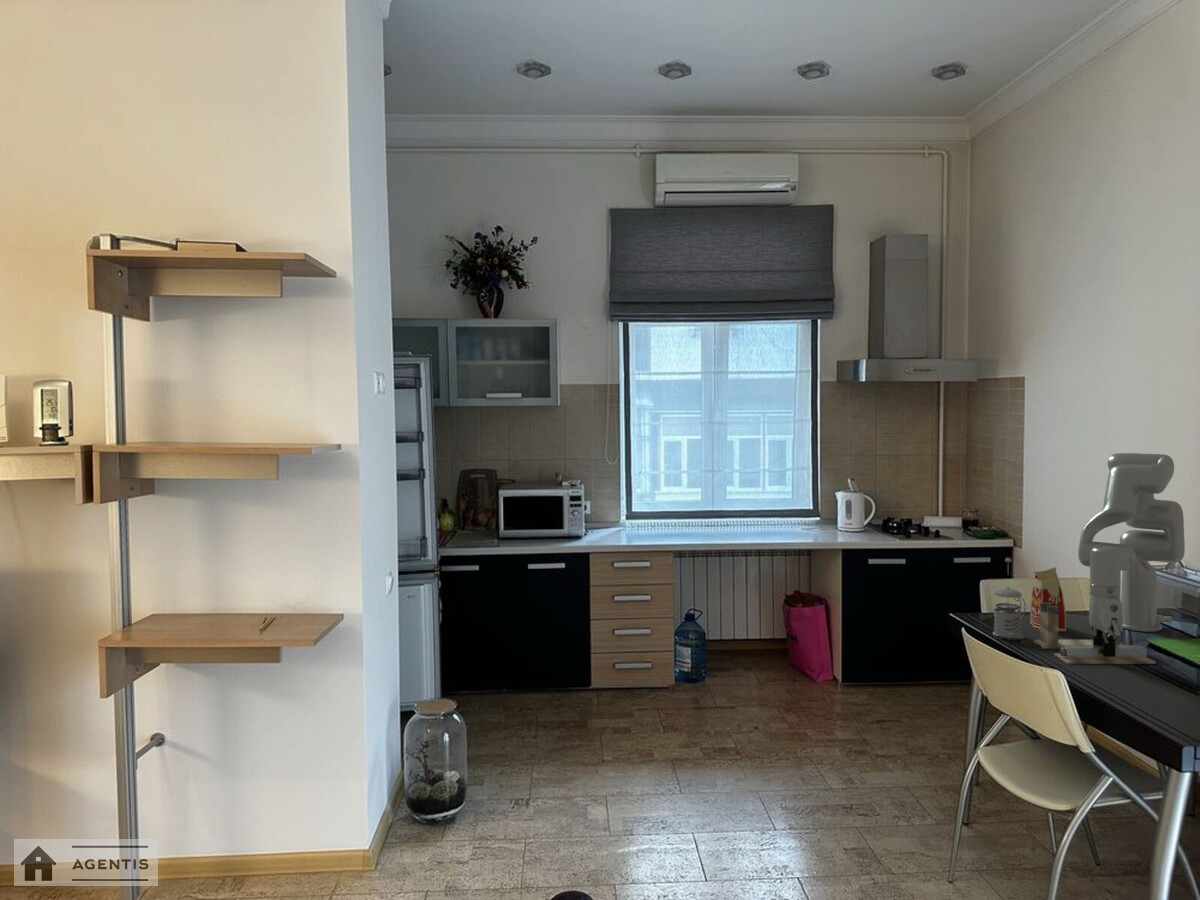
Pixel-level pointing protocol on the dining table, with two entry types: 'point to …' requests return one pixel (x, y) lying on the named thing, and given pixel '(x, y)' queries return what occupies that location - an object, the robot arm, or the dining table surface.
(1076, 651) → the rail
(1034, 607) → the milk carton
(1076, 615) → the dining table surface
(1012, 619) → the french press
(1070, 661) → the wooden board
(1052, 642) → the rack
